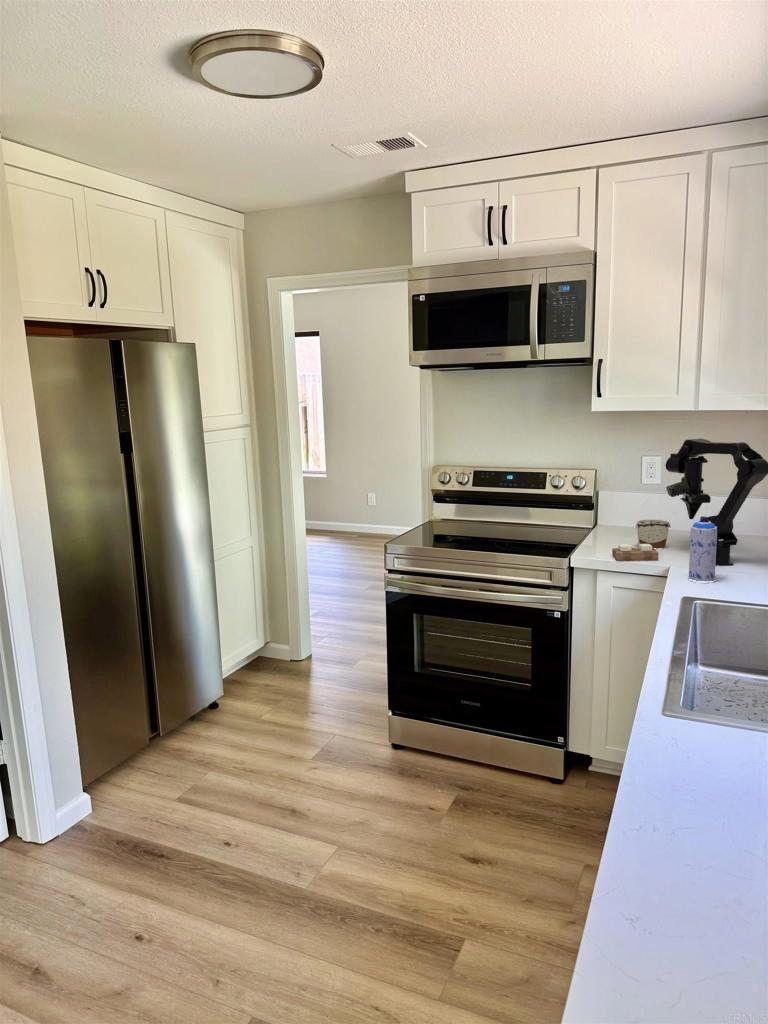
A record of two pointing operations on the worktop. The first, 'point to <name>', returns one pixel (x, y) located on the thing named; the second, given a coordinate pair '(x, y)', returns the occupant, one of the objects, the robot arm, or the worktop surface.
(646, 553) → the bar
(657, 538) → the food container
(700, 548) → the aerosol can
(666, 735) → the worktop surface
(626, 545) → the plunger
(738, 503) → the robot arm
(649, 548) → the plunger
